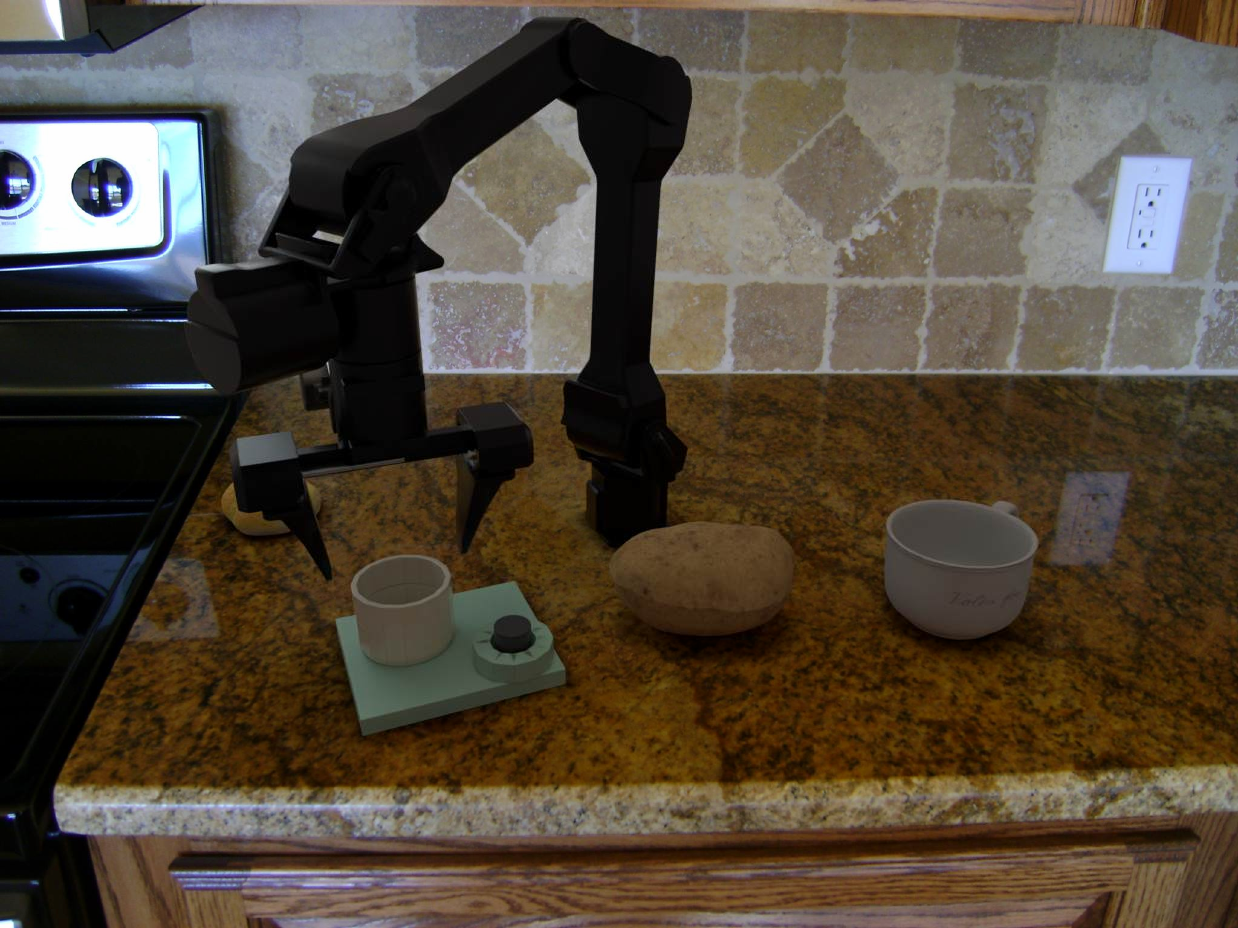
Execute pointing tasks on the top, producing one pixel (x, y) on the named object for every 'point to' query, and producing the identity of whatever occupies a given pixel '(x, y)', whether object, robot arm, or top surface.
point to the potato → (704, 577)
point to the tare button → (512, 634)
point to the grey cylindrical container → (403, 609)
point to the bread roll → (259, 515)
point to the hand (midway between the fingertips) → (397, 564)
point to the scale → (452, 665)
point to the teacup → (958, 566)
